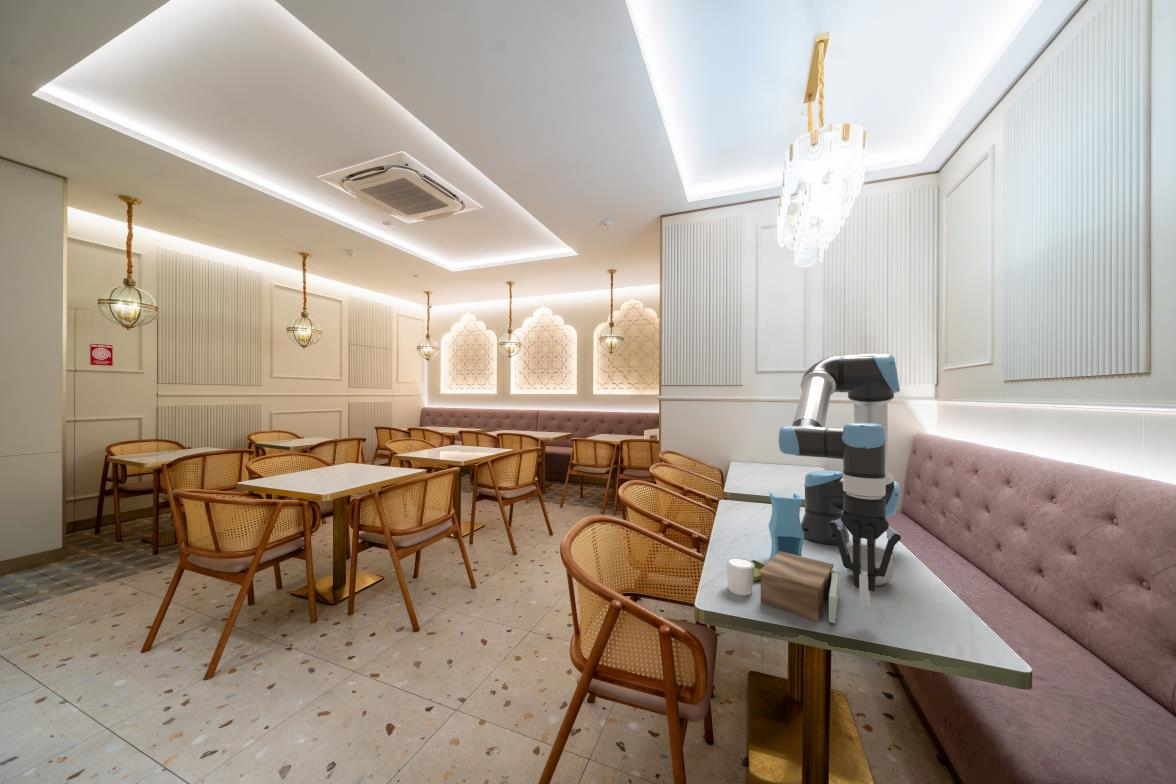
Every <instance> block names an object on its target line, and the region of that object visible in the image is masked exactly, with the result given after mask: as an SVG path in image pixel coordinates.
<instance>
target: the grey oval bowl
mask: <svg viewBox="0 0 1176 784" xmlns="http://www.w3.org/2000/svg"><path fill="white" fill-rule="evenodd" d="M847 548H848V552H849V555H850V559H851V562H853V541H849V542H848V543H847ZM885 549H886V548H882V547H879V546H876V568H880V565H881V561H882V558H883V555H884V552H885ZM846 571H847V572H848V574H849V575H850V576H852V577H853V571H852V570H850V569H848V568H846ZM861 571H864V572H868V566H867V544H864V543H861ZM893 575H894V554H892V555H891V558H890V561H889V565H888V568H887V571H886V574H885V576H884V577H881V576H877V577H876V586H882V585H884V584H886V583H888V582H890V581H891V580H892V579H893Z"/></svg>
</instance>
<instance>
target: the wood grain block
mask: <svg viewBox="0 0 1176 784" xmlns="http://www.w3.org/2000/svg"><path fill="white" fill-rule="evenodd" d="M764 565H765V566H764V567H763V568H762V569H761V570H760V571H759V574H761V580H760V604H765V605H767V606H770V607H773V608H776V609H779V610H782V611H784V612H788V613H790V614H794V615H797V616H800V617H803V618H806V619H808V620H809V619H810V620H812V621H815V622H819V620H820V618H821V617H822V615H823V612H824V610H825V609H826V607H827V605H828V604H829V592H830V586H831V580H832V571H833V568H834V563H830V562H827V561H826V562H825V561H821V560H818V559H813V558H809V557H805V556H803V555H802V556H798V555H793V554H789V553H785V552H781V551H779V552H778V553H777V554H776V555H775V556H774V557H773V558H772V559H770V560H769V561H767V563H766V564H764Z"/></svg>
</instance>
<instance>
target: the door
mask: <svg viewBox="0 0 1176 784" xmlns="http://www.w3.org/2000/svg"><path fill="white" fill-rule="evenodd" d="M839 596H840V572H839V571H836V570H832V580H831V586H830V592H829V601H828V622H829V623H832V624H837V622H836V620H837V615H838V613H837V612H838V606H839V605H838V603H839Z"/></svg>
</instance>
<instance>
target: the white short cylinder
mask: <svg viewBox="0 0 1176 784" xmlns="http://www.w3.org/2000/svg"><path fill="white" fill-rule="evenodd" d="M725 564H726V576H727V577H726V578H727V585H728V586H727V587H728V590H729V591H730V592H731V593H732V594H735V595H737V596H738V595H739V596H744V597H745V596H750V595H752V593H753V587H754V581H753V577H754V567H755V564H754V563H753V562H751V559H750V560H749V559H747V558H743V557H729V558H727V559H726V561H725Z"/></svg>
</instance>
